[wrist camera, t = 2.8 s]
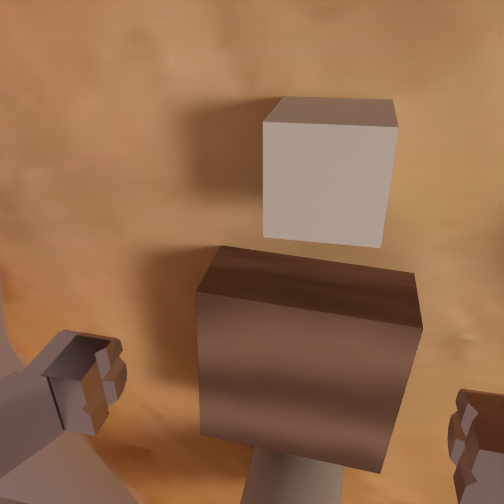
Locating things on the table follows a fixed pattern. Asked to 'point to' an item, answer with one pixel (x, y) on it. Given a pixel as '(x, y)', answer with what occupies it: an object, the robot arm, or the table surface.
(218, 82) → the table surface
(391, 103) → the light gray cube
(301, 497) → the travel mug
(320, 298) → the walnut block
